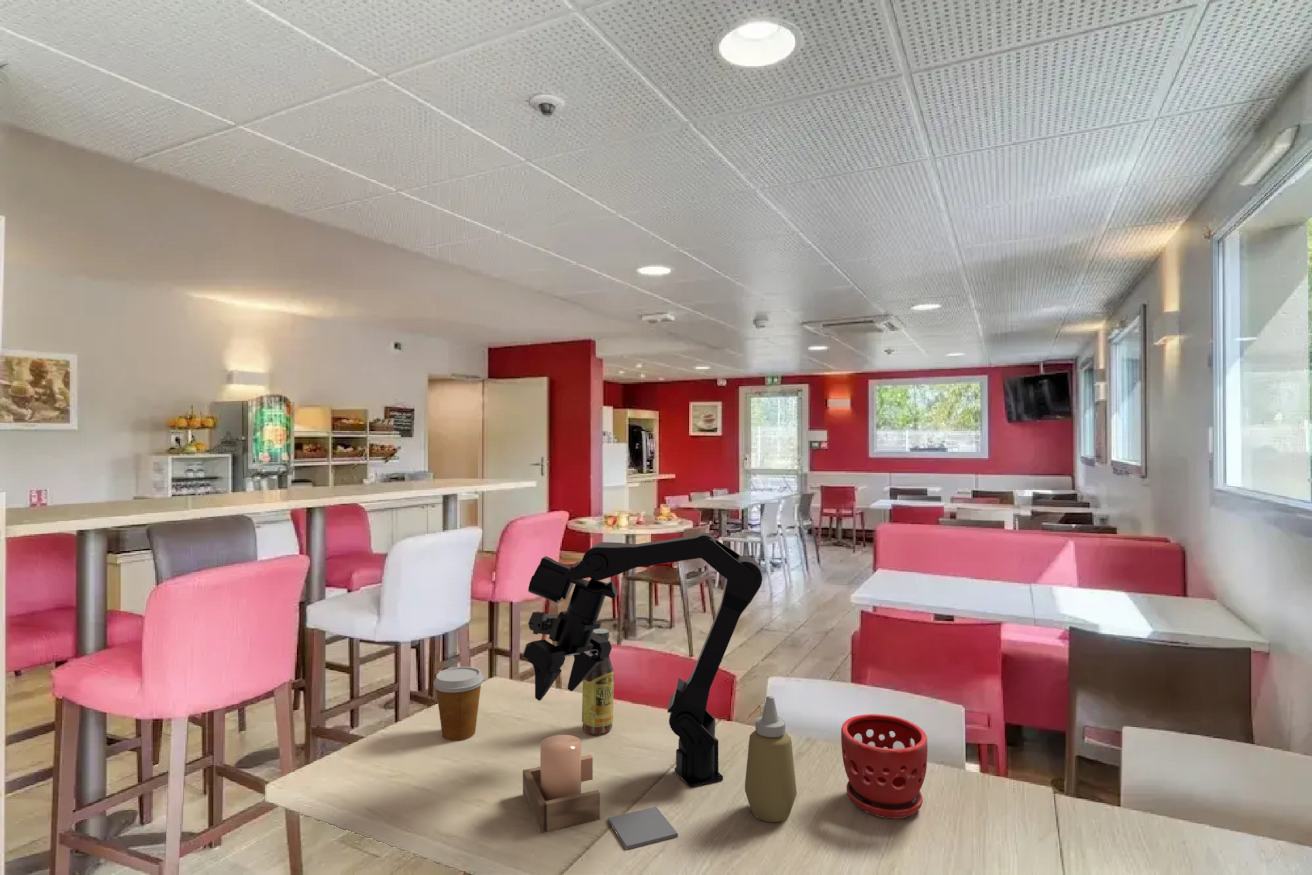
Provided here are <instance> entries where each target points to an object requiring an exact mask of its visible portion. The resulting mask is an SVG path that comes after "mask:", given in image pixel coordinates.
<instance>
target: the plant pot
mask: <svg viewBox="0 0 1312 875" xmlns="http://www.w3.org/2000/svg"><path fill="white" fill-rule="evenodd" d="M869 730H871V731H873V734H872V735H871V736H869V735H867V731H869ZM890 732H893V733H894V736H891V734H890ZM840 733H841V735H840V739H841V740H840V741H841V753H842V754H841V755H842V762H843V766H844V771H845V773H846V777H847V779H848V781H847V783H846V788H845V789H846V794H847V796H849V799H850V800H851V802H853V803H854V805H856V806H857V807H858V808H859V809H861V810H863V811H864V812H865V813H868V814H871V815H873V816H877V817H882V818H885V817H886V818H887V819H903V818H906V817H909V816H913V815H914V814H915V813H917V812H918V811H920V808H921V807H922V805H923V802H924V801H923V800H924V798H923V794H922V792H921V789H922V787H923V784H924V781H925V778H926V773H927V768H928V767H927V766H928V765H927V764H928V749H929V748H928V736H927V734H926V733H925V731H924V730H923V729H922V728H921V727H920V726H919V725H917V724H915V723H914V722H911V721H910V720H908V719H905V718H901V717H898V716H895V715H894V716H893V715H887V714H879V713H872V714H871V713H867V714H860V715H855V716H852V717H850V718H848V719H847V720H845V721H844V722H843V723H842V725H841V730H840ZM858 734H859V735H861V741H859V740H857V739H855V736H856V735H858ZM881 735H883V736H884V738H883V739H881V738H880V736H881ZM911 739H912V740H913V742H914V745H913V744H912V741H911ZM895 742H900V743H901V744H902V745H903V746H904V748H901V747H900V748H894V744H895ZM869 743H873V744H874V745H869Z"/></svg>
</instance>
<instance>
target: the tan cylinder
mask: <svg viewBox="0 0 1312 875" xmlns="http://www.w3.org/2000/svg"><path fill="white" fill-rule="evenodd" d="M593 761H594V760H593V757H592V755H591V754H588V755H583V756H582V742H581V739H580V738H578V737H577V736H576V735H575V736H574V735H570V734H557V735H556V734H555V735H552V736H548V737H546V738H545V739H542V741H541V743H540V761H539V762H540V767H541V794H542V796H543V798H544V800H545V801H549V800H553V799H558V798H563V797H567V796H572V795H576V794H581V793H582V783H585V782H589V781H593V779H594V778H593V777H594V776H593V773H594V770H593V769H594V766H593Z"/></svg>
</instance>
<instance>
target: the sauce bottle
mask: <svg viewBox="0 0 1312 875" xmlns="http://www.w3.org/2000/svg"><path fill="white" fill-rule="evenodd" d="M593 632H594V633H596V634H598V635H600V636H601V637H603V638H605V639H606V640H608V641H609V638H610V631H609V629H607V628H599V629H594V631H593ZM614 674H615V671H614V668H613V665H612V660H611V658H610V656H609V657H608V658H604V661H603V662H601V663H600V664H599V665H598V666H597V667H596V668H595V669H594V670H593V671H592V672H591V673H590V674H589V675H588V676H587V677H586V678H585V679H584V680H583V681H582V696H581V698H582V700H581V703H582V705H581V709H582V710H581V722H582V731H583V732H584V733H586V734H588V735H591V736H592V735H593V736H594V735H598V736H599V735H605V734H607V733H609V732H610V731H611V730H612V729H613V723H614V697H615V696H614V692H615V691H614V689H615V687H614V686H615V683H614V682H615V681H614V680H615V679H614V676H615V675H614Z"/></svg>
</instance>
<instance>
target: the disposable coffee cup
mask: <svg viewBox="0 0 1312 875" xmlns="http://www.w3.org/2000/svg"><path fill="white" fill-rule="evenodd" d="M484 678H485V677H484V675H483V673H482V671H481V669H480V668H478V667H473V666H455V667H449V668H446V669H443V670H440V671H439V672H438V673H437V674H436V675H435V678H434V680H433V686H434V688H435V690H436V697H437V704H438V712H439V720H440V728H441V735H442V736H441V737H442V739H443V740H445V741H450V742H452V741H453V742H457V741H459V742H460V741H464V740H467V739H470V738H472V737H473V736H474V735H475V734H476V730H477V728H476V727H477V721H478V712H479V704H480V696H481V695H480V694H481V690H482V689H481V688H482V684H483V682H484Z"/></svg>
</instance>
